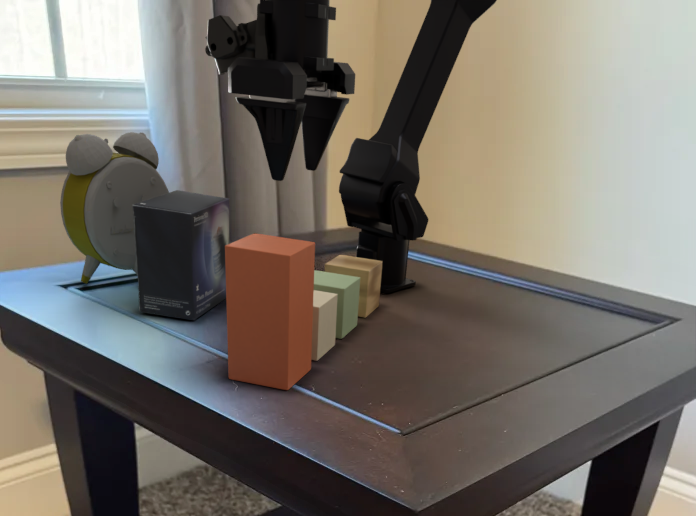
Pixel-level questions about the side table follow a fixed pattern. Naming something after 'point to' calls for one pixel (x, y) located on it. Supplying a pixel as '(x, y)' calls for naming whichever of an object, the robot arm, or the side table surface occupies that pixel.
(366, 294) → the cube
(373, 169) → the robot arm
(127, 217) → the alarm clock
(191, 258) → the small box
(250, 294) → the tall block
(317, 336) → the cube
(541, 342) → the side table surface
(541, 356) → the side table surface
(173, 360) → the side table surface
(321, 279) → the cube
